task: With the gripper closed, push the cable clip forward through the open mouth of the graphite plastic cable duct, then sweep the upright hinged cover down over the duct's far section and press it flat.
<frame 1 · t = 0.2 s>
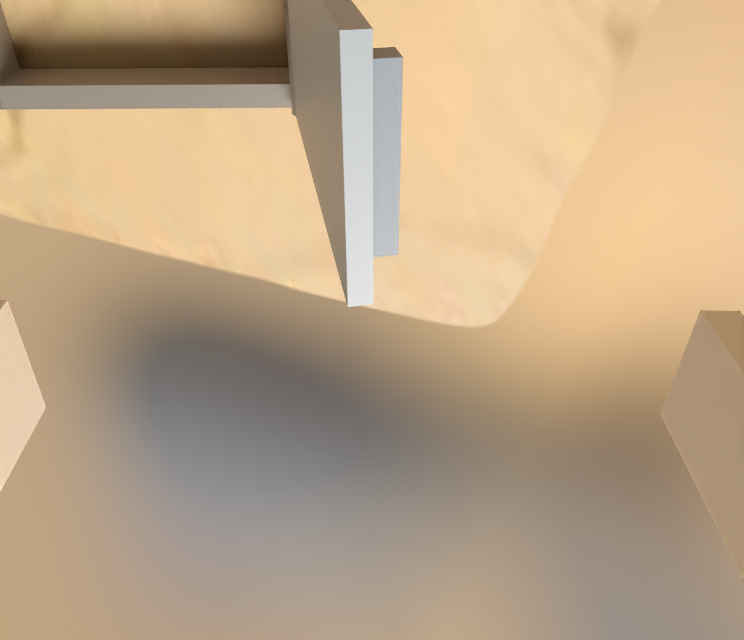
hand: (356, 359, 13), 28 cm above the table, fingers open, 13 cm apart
cover: (330, 83, 26), point 12 cm above the table, hinge at 100.0°
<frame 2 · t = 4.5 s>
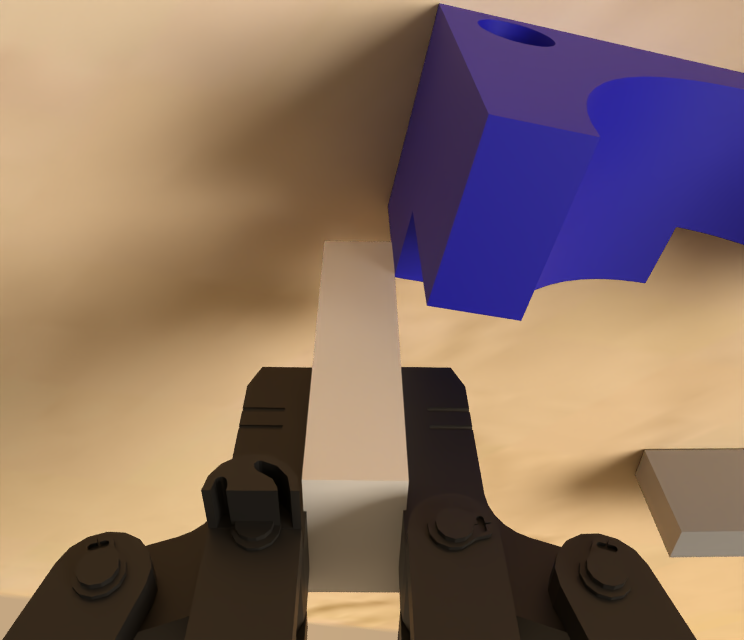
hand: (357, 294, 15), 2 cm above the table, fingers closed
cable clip: (663, 162, 16), on the table, touching gripper
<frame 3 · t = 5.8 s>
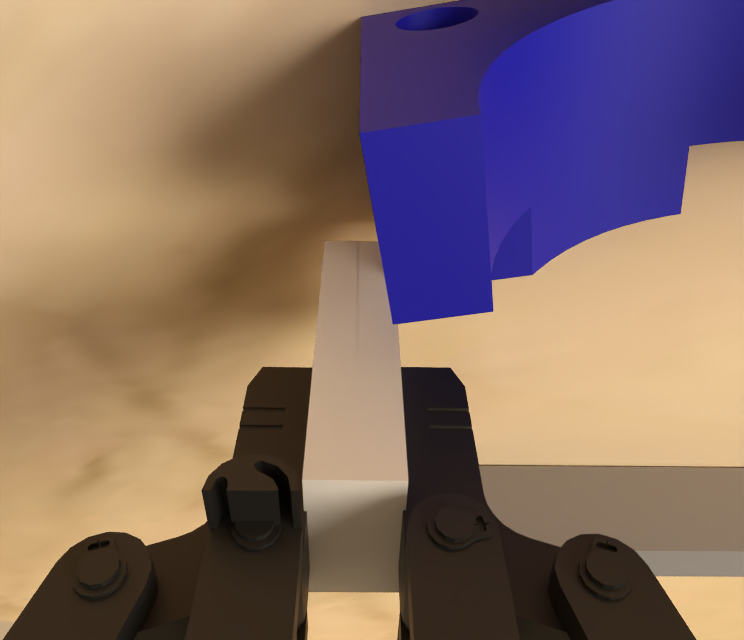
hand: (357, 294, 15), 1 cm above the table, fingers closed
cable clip: (662, 80, 14), on the table, touching gripper
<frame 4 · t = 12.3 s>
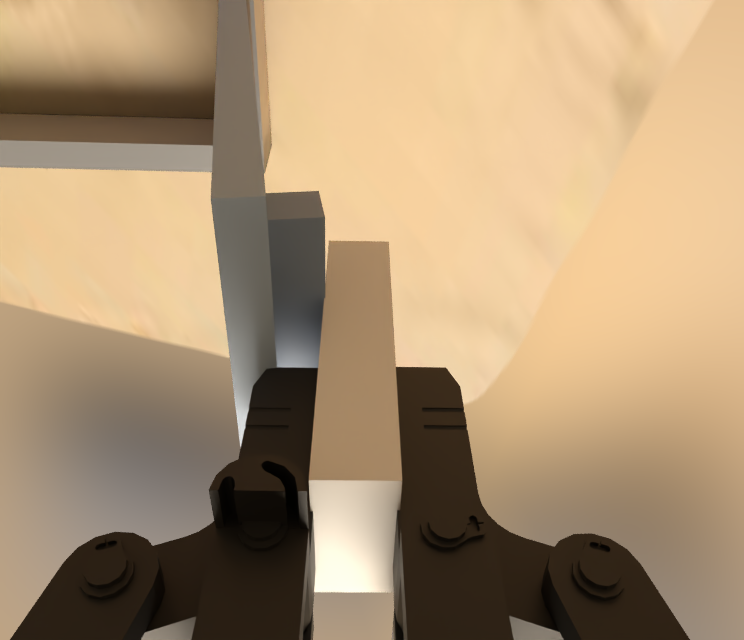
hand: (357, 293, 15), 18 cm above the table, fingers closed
cover: (260, 180, 19), point 12 cm above the table, hinge at 98.5°, touching gripper
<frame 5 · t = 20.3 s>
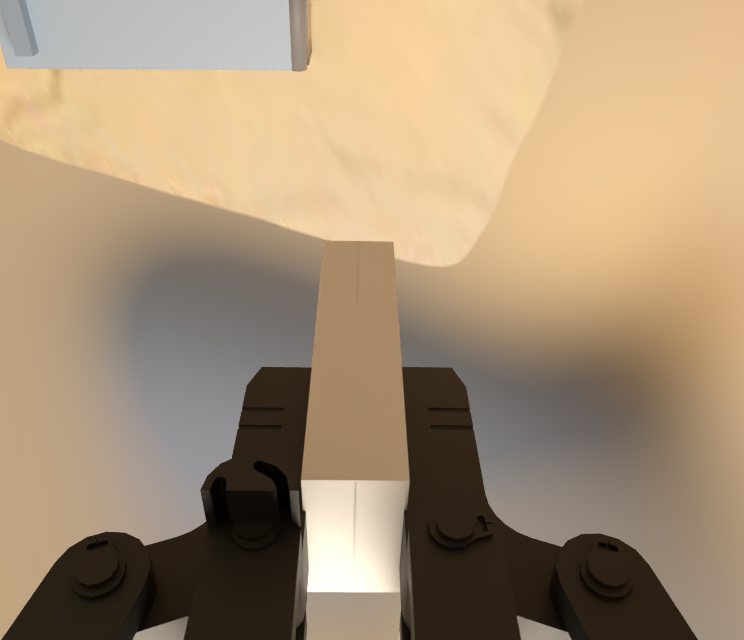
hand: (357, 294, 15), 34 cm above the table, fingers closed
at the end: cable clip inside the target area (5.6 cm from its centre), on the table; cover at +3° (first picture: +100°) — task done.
